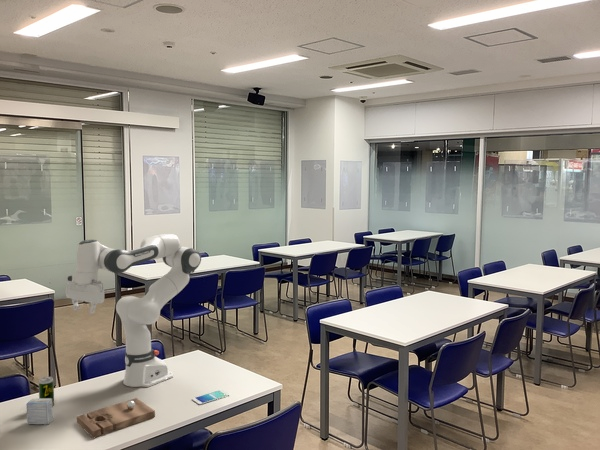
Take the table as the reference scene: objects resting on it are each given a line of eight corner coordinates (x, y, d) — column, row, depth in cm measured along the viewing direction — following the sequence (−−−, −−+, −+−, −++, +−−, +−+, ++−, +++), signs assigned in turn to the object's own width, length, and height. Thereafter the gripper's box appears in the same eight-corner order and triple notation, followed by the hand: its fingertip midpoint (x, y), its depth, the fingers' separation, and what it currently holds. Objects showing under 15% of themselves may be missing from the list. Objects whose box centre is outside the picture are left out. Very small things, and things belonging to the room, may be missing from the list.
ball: (133, 406, 200) (132, 398, 200) (136, 408, 198) (136, 400, 197) (125, 408, 198) (125, 400, 197) (129, 411, 195) (128, 403, 195)
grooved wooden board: (136, 403, 208) (136, 398, 207) (154, 416, 196) (154, 410, 196) (77, 422, 191) (76, 416, 191) (93, 438, 180) (93, 431, 179)
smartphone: (230, 394, 216) (199, 404, 206) (230, 396, 216) (199, 406, 206) (221, 389, 222) (190, 398, 212) (221, 391, 222) (191, 400, 212)
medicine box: (53, 419, 194) (52, 397, 193) (48, 425, 189) (47, 402, 189) (32, 419, 194) (31, 398, 193) (27, 425, 189) (26, 403, 188)
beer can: (36, 408, 203) (35, 379, 202) (49, 403, 208) (47, 375, 207) (45, 411, 201) (43, 382, 200) (57, 406, 205) (56, 378, 204)
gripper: (109, 280, 207) (107, 314, 207) (76, 275, 217) (74, 307, 217) (96, 282, 201) (94, 316, 201) (63, 276, 211) (61, 308, 211)
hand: (83, 311), depth 209 cm, fingers open, 8 cm apart
